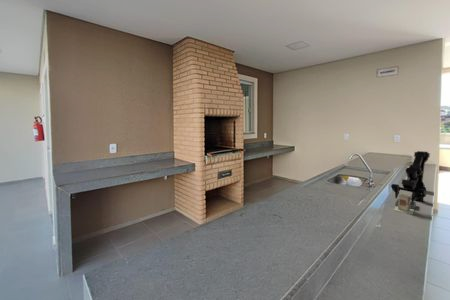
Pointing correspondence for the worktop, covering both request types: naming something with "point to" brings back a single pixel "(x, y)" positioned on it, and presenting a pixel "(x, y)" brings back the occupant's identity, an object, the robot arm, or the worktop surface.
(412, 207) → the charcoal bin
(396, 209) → the sage mat
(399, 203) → the birch box
